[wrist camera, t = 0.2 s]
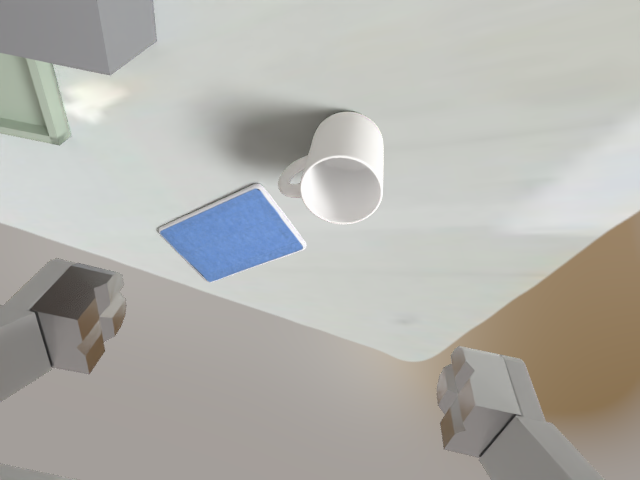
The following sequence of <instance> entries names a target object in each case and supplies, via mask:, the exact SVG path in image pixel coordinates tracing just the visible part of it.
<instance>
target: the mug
mask: <svg viewBox="0 0 640 480" xmlns="http://www.w3.org/2000/svg"><path fill="white" fill-rule="evenodd" d="M383 154H384V147H383V138H382V135H381V132H380V130H379V128H378V127H377V126H376V124H375V123H374V122H373V121H372V120H371V119H369V118H368V117H366V116H364V115H362V114H359V113H355V112H340V113H336V114H333V115H331V116H329V117H328V118H326V119H325V120H324V121H323V122H322V123H321V124H320V125H319V126H318V128H317V130H316V132H315V134H314V136H313V140H312V143H311V147H310V150H309V154H308V155H307V156H304V157H302V158H300V159H298V160H296V161H294V162H293V163H291V164H290V165H289V166H288V167H287V168H286V169H285V170H284V171H283V172H282V174H281V175H280V177H279V181H278V187H279V190H280V192H281V193H282V194H283V195H285V196H287V197H291V198H300V197H302V200H303V202H304V204H305V205H306V207H307V208H308V209H309V210H310V211H311V212H312V213H313V214H314V215H316V216H317V217H319V218H320V219H322V220H325V221H327V222H331V223H335V224H352V223H356V222H359V221H362V220H364V219H366V218H367V217H369V216H370V215H371V214H373V213H374V211H375V210H376V209H377V208H378V206H379V204H380V202H381V199H382V195H383ZM302 170H304V171H303V175H302V179H301V182H300V183H298V184H290V181H291V179H292V178H293V177H294V176H295V175H296V174H297V173H299V172H300V171H302Z"/></svg>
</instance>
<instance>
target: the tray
mask: <svg viewBox="0 0 640 480" xmlns="http://www.w3.org/2000/svg"><path fill="white" fill-rule="evenodd" d="M0 133H1V134H6V135H11V136H16V137H21V138H26V139H31V140H36V141H41V142H46V143H50V144H55V145H61V144H62V143H63V142H64V141H66V140H67V139H68V138H69V137H70V136H71V133H70V129H69V125H68V122H67V118H66V114H65V110H64V107H63V103H62V99H61V95H60V91H59V88H58V84H57V80H56V76H55V72H54V69H53V65H52V63H47V62H42V61H37V60H33V59H28V58H23V57H18V56H13V55H8V54H3V53H0Z"/></svg>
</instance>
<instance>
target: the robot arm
mask: <svg viewBox="0 0 640 480" xmlns="http://www.w3.org/2000/svg"><path fill="white" fill-rule="evenodd" d="M123 286H124V281H123V275H122V274H120V273H118V272H114V271H110V270H105V269H102V268H97V267H93V266H89V265H85V264H81V263H75V262H71V261H67V260H63V259H59V258H55V259H53V260H50V261H49V262H48V263H47V264H45V266H44V267H42V268H41V269H40V270H39V271H38V272H37V273H36V274H35V275H34V276H33V277H32V278H31V279H30V280H29V281H28V282H27V283H26V284H25V285H24V286H23V287H22V288H21V289H20V290H19V291H18V292H16V293H15V294H14V295H13V297H11V299H9V300H8V301H7V302H6V303H5V304H4V305H0V402H2V401H3V400H5V399H6V398H8V397H10V396H11V395H13V394H14V393H16V392H17V391H19V390H20V389H22V388H24V387H25V386H27V385H28V384H30V383H32V382H33V381H35V380H36V379H38V378H39V377H41V376H42V375H44V374H46V373H47V372H49V371H50V370H51V369H52V368H57V369H63V370H68V371H74V372H80V373H85V374H90V373H91V371H92V370H93V368H94V367H95V365H96V364H97V362H98V361H99V359H100V358H101V356H102V355H103V353H104V352H105V348H104V342H105V341H106V340H109V339H110V338H112V337H114V336H115V335H116V334H117V332H118V330H119V329H120V327H121V325H122V323H123V320H124V317H125V314H126V298H125V297H124V296H123V295H122V294H121V293H120V290H121V289H122V287H123ZM451 360H452V364H450V365H448V366H446V367H444V368H443V371H442V372H441V374H440V376H439V380H438V385H437V401H438V406H439V407H440V409H441V410H442V411H443V413H444V414H445V416H444V417H443V419H442V421H441V422H440V425H441V432H442V439H443V447H444V449H445V450H448V451H453V452H457V453H461V454H465V455H469V456H473V457H477V458H480V459H479V461H480V463H481V464H482V466H483V467H484V469H485V471H486V472H487V474H488V475H489V477H490V479H491V480H605V479H604V478H603V477H602V476H601V475H600V474H599V473H598V472H597V470H596V469H595V468H594V467H593V466H592V465H591V464H590V463H589V462H588V461H587V460H586V459H585V458H584V457H583V455H582V454H581V453H580V452H579V451H578V450H577V449H576V448H575V447H574V446H573V445H572V444H571V443H570V442H569V441H568V439H567V438H566V437H565V436H564V435H563V434H562V433H561V432H560V431H559V430H558V429H557V428H556V427H555V426H554V425H553V424H552V423H549V422H546V421H545V418H544V415H543V413H542V410H541V407H540V404H539V401H538V399H537V396H536V393H535V390H534V387H533V385H532V382H531V379H530V376H529V374H528V371H527V368H526V365H525V363H524V362H523V361H522V360H521V359H519V358H514V357H508V356H504V355H498V354H495V353H490V352H485V351H480V350H475V349H470V348H465V347H460V346H458V347H457V348H456V349H455V350H454V351H453V353H452V354H451ZM51 367H52V368H51ZM0 480H78V479H73V478H68V477H63V476H59V475H54V474H49V473H44V472H39V471H34V470H29V469H25V468H20V467H15V466H10V465H5V464H1V463H0Z"/></svg>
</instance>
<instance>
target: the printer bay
mask: <svg viewBox="0 0 640 480" xmlns="http://www.w3.org/2000/svg"><path fill="white" fill-rule="evenodd" d="M156 41H157V39H156V28H155V18H154V8H153V0H0V53H3V54H8V55H13V56H18V57H23V58H28V59H33V60H37V61H42V62H47V63H52V64H57V65H62V66H67V67H72V68H76V69H81V70H86V71H91V72H96V73H101V74H106V75H111V74H113V73H114V72H116V71H117V70H118V69H120V68H121V67H122V66H124V65H125V64H126V63H128V62H129V61H130V60H132V59H133V58H135V57H136V56H137V55H139V54H140V53H141V52H143V51H144V50H145V49H147V48H148V47H150V46H151V45H152V44H154V43H155V42H156Z"/></svg>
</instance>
